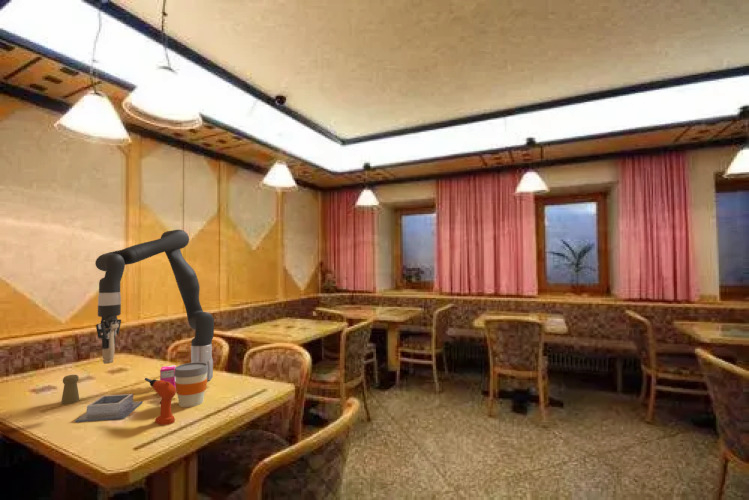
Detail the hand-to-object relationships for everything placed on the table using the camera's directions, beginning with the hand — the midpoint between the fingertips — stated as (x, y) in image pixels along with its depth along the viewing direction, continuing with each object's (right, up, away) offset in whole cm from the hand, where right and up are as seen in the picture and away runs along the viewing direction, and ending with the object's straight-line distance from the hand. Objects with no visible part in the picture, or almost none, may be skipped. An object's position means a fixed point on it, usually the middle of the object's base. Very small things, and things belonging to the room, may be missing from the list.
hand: (108, 347), depth 149 cm
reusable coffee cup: (+30, -24, +5) cm, 39 cm away
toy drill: (+26, -24, -11) cm, 37 cm away
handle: (0, -6, 0) cm, 6 cm away
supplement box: (+14, -25, +17) cm, 34 cm away
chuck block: (+3, -24, -4) cm, 25 cm away
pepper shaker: (-22, -25, +8) cm, 34 cm away
